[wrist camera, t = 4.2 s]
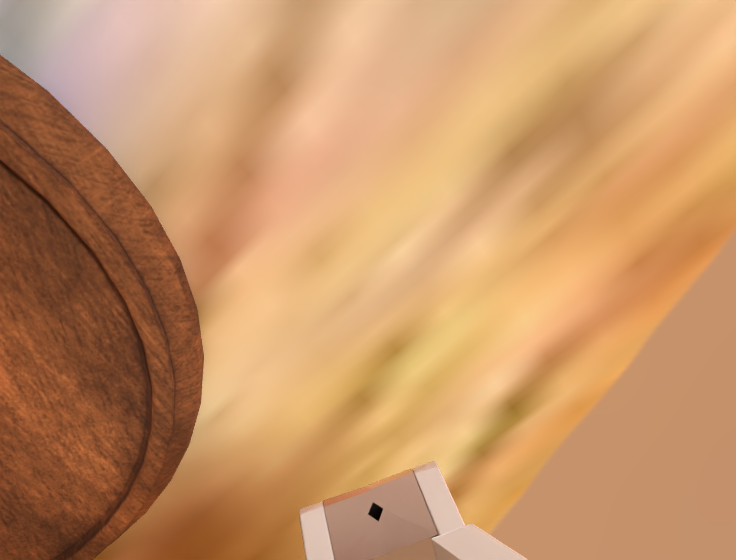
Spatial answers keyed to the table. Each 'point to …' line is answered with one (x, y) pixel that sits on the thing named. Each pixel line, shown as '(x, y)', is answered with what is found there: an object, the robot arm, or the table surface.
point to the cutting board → (84, 337)
